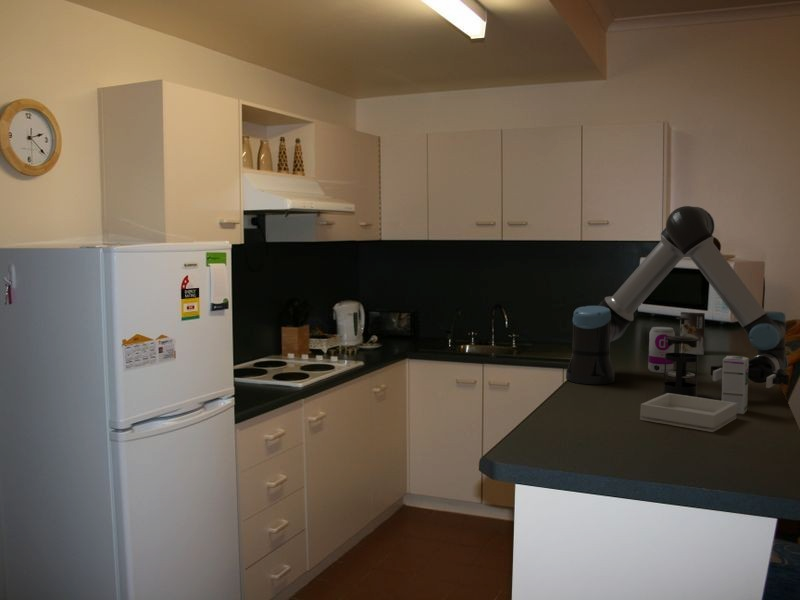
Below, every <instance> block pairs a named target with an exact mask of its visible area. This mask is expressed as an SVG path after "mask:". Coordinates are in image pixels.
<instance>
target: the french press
mask: <svg viewBox="0 0 800 600" xmlns="http://www.w3.org/2000/svg"><path fill="white" fill-rule="evenodd" d="M675 320H679V321H680V320H681V324H682V336H680V335H675V336H672V337H666V339H667V345H668V346H671V345H673V344H674V345H676V344H677V345H680V344H681V353H679V352H674V353H666V354H665V372H664V373H663V375H664V376H663V378H664V379H663V392H662V395H664V394H666V393H671V394H678V395H685V396H692V397H698V395H697V390H698V389H697V387H698V364H699V363H698V361H699V355H697V354H689V353H682V346H683V344H688V345H689V346H690V347H693V348H694V347H697V341H699V339H697V338H692V337H686V336H683V324H684V323H685V320H690V318H686V317H681V316H680V317H679V316H678V317H675ZM666 360H670V361H674V362H675V363H676V364H675V365H676V366H675V371H674V370H673V371H671V372H666ZM695 362H696V363H695ZM687 363H695V365H696V366H695V373H693V372H688V371H687ZM667 377H669V378H675V381H674V380H673V381H666V380H667V379H666V378H667ZM688 379H690V380H691V379H695V383H694V382H693V383H692V382H689V381H688V382H686V381H687V380H688Z"/></svg>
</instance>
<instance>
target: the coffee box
mask: <svg viewBox="0 0 800 600" xmlns="http://www.w3.org/2000/svg"><path fill="white" fill-rule="evenodd" d="M705 316H706V313H705V312H690V311H689V312H688V311H687V312H685V311H684V312H683V311H680V317H686V318H690V320H685V323H684V324H683V336H686V337H692V338H697V339H699V341H697V347H694V348H693V347H690V346H689V345H688V344H683V346H682V353H689V354H695V355H697V356H699V355H700V356H704V355H705V325H706V323H705V321H706V320H705V319H706V318H705ZM679 323H680V324H679V336H682V324H681V320H679ZM678 351H679V352H678V353H681V344H679V350H678Z"/></svg>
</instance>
